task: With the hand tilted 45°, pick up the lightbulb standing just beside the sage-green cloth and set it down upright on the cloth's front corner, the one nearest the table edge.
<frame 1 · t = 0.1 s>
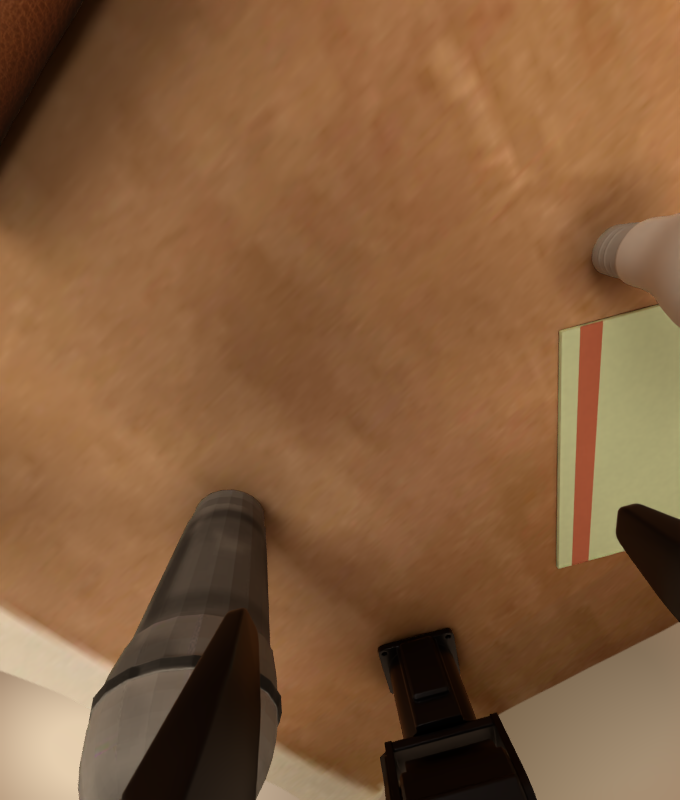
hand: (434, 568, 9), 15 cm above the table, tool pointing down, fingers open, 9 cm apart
beverage cup: (230, 515, 26), on the table
lightbulb: (601, 248, 22), on the table
cloth: (667, 437, 27), on the table
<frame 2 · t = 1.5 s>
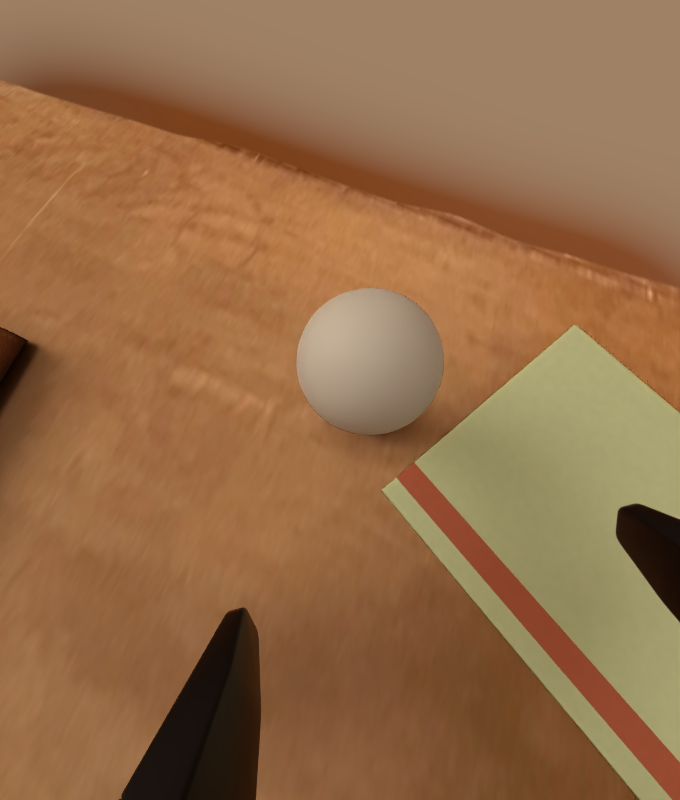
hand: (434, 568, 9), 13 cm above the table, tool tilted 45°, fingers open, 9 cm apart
lightbulb: (369, 413, 24), on the table
cloth: (617, 540, 21), on the table
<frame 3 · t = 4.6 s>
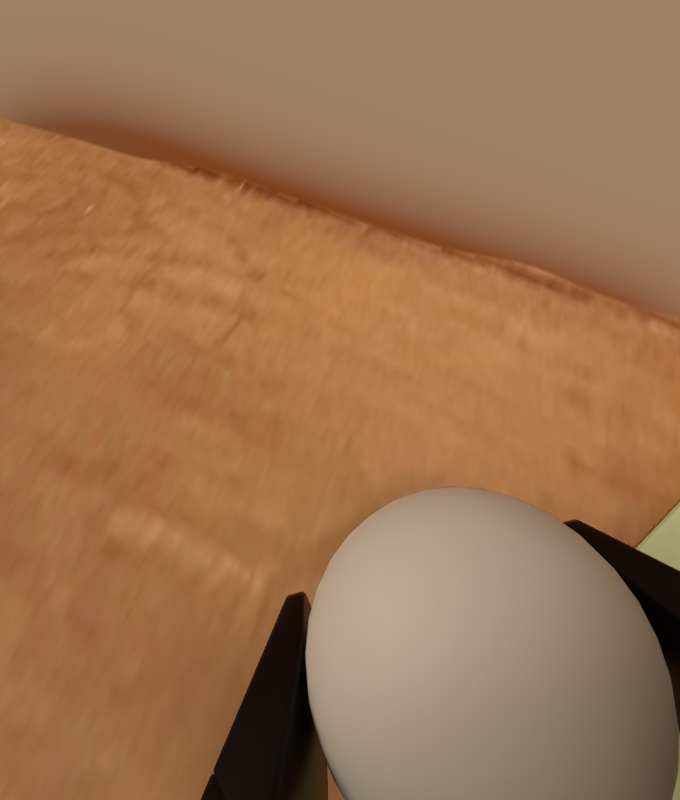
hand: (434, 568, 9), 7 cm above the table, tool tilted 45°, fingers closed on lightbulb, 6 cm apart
lightbulb: (419, 592, 15), on the table, touching gripper
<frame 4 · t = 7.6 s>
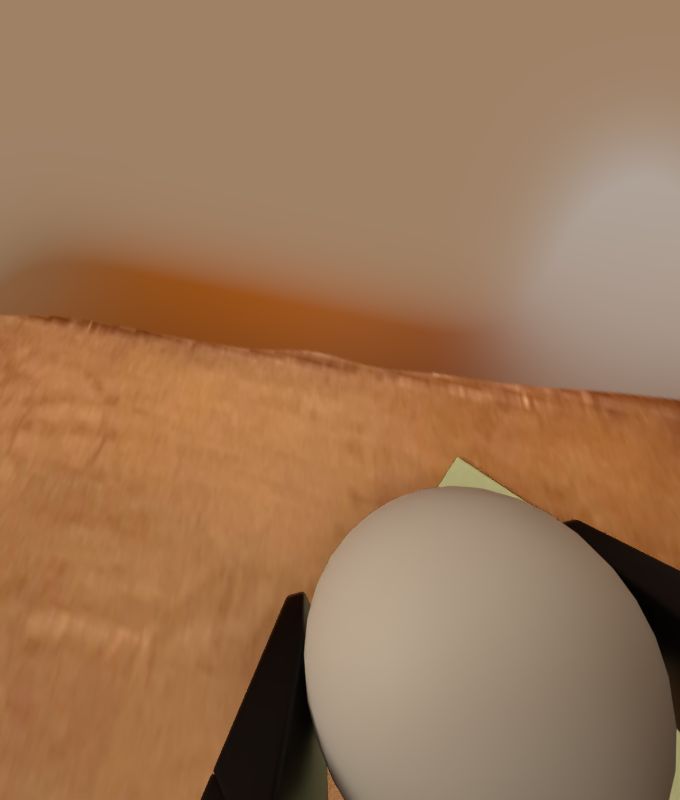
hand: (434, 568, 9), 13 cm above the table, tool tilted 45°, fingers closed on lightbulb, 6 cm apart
lightbulb: (418, 591, 15), point 6 cm above the table, touching gripper
cloth: (551, 712, 19), on the table
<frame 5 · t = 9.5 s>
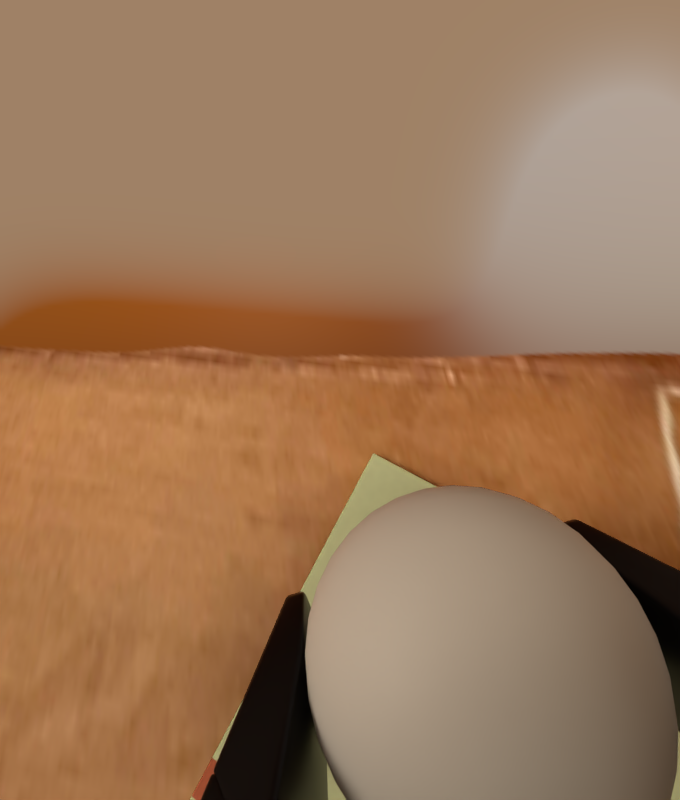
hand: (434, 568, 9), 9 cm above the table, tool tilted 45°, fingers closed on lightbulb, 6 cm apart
lightbulb: (419, 591, 15), point 2 cm above the table, touching gripper
cloth: (512, 766, 15), on the table
when the fingers open (7 cm above the table, at t = 10.6 s): lightbulb stays where it is, resting on cloth.
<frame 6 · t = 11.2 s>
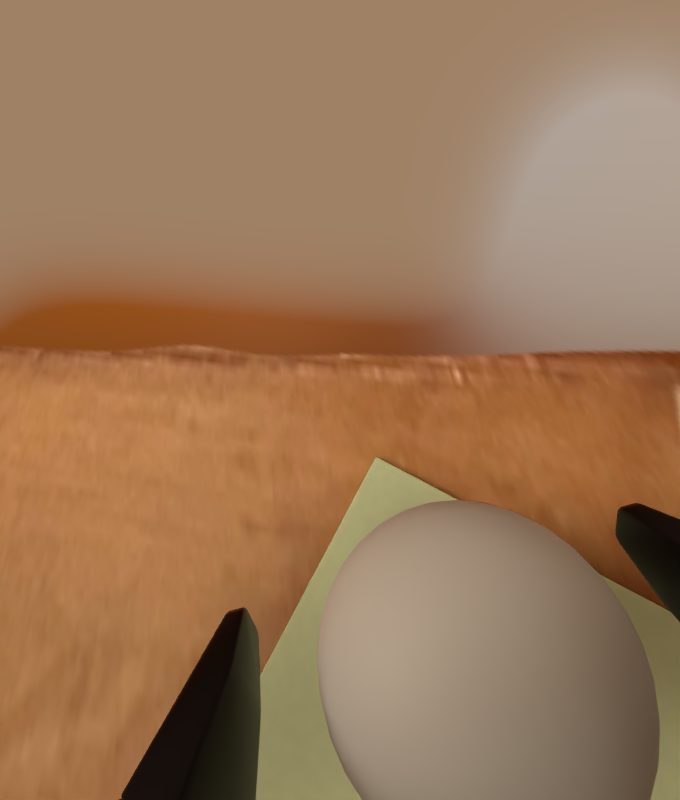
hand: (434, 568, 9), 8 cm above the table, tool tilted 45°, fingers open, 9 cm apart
lightbulb: (419, 596, 16), resting on cloth
cloth: (527, 797, 13), on the table
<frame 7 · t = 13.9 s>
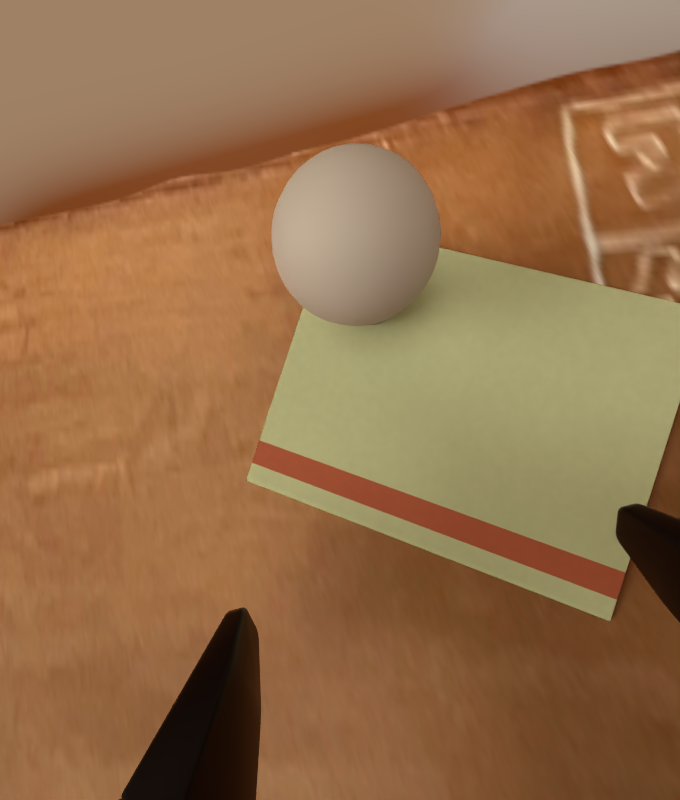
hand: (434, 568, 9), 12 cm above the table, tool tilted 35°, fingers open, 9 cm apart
lightbulb: (375, 308, 22), resting on cloth
cloth: (456, 403, 21), on the table
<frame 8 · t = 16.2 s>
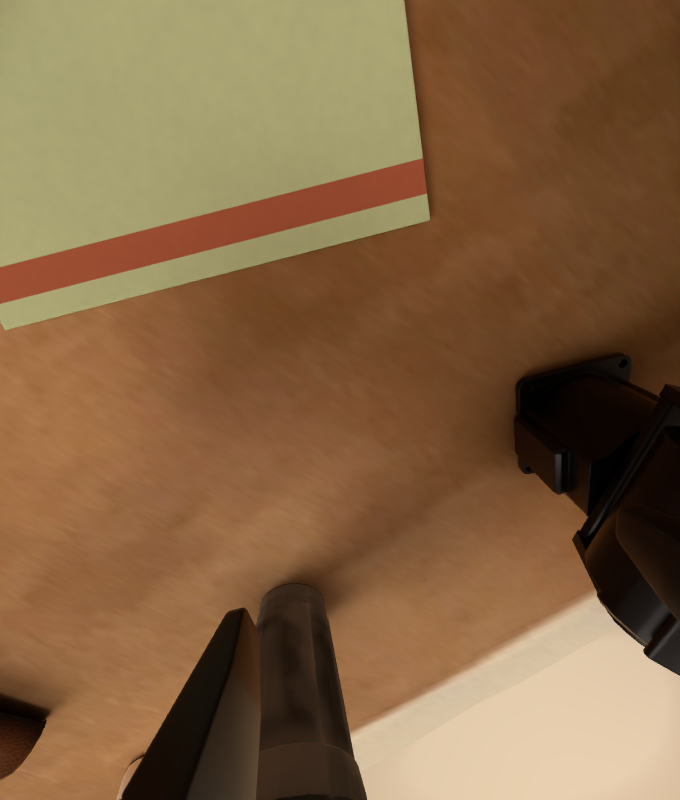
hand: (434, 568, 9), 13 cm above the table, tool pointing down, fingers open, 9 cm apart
beverage cup: (292, 604, 28), on the table
cloth: (143, 58, 15), on the table
spray bottle: (167, 768, 35), on the table
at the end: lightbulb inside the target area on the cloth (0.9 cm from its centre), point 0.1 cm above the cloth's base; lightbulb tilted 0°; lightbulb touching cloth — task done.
